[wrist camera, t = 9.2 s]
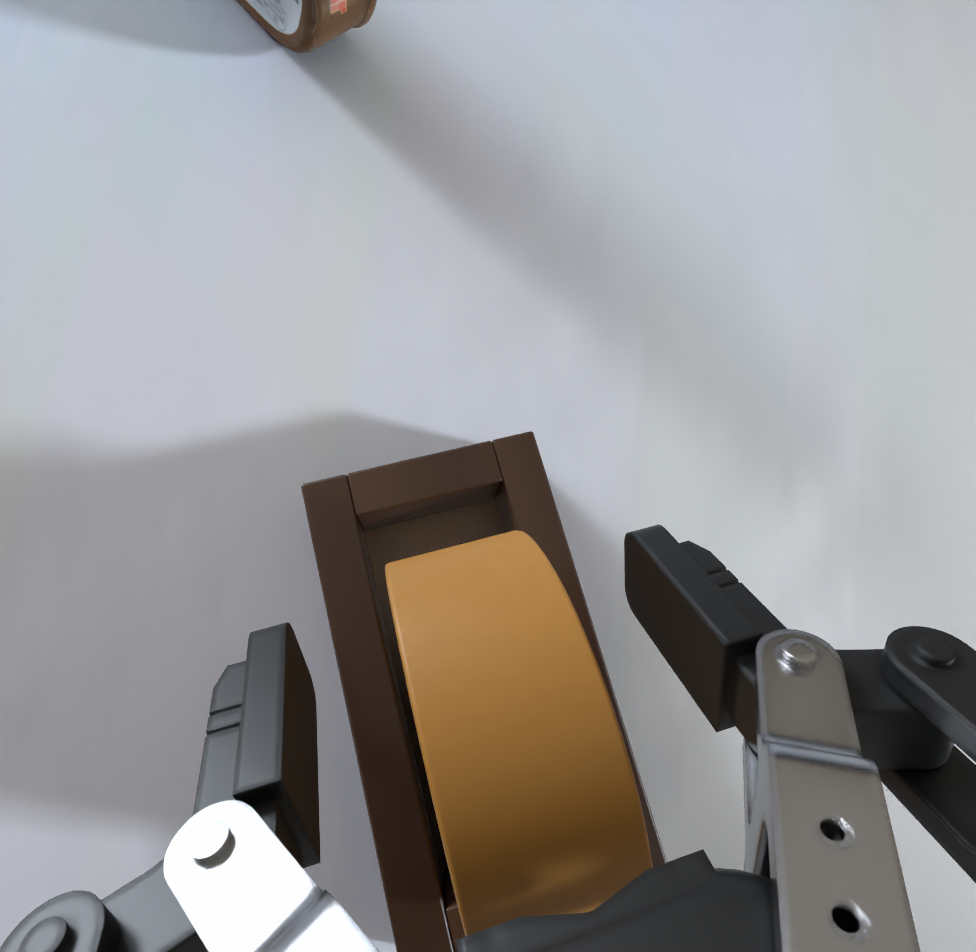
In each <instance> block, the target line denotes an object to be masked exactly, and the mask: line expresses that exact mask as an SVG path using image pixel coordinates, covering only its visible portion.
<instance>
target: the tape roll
mask: <svg viewBox="0 0 976 952" xmlns="http://www.w3.org/2000/svg"><path fill="white" fill-rule="evenodd" d="M385 576H386V583H387V589H388V595H389V600H390V606H391V611H392V616H393V621H394V626H395V631H396V636H397V641H398V646H399V651H400V656H401V661H402V665H403V670H404V675H405V679H406V684H407V689H408V694H409V698H410V703H411V707H412V712H413V716H414V721H415V725H416V730H417V734H418V739H419V743H420V748H421V752H422V757H423V761H424V766H425V770H426V774H427V779H428V783H429V787H430V792H431V796H432V801H433V805H434V809H435V813H436V818H437V822H438V826H439V830H440V835H441V839H442V843H443V847H444V852H445V856H446V860H447V864H448V868H449V872H450V876H451V881H452V885H453V889H454V893H455V897H456V901H457V905H458V909H459V913H460V917H461V921H462V925H463V929H464V933H465V936H468V935H471V934H474V933H476V932H479V931H482V930H485V929H487V928H490V927H493V926H496V925H498V924H501V923H504V922H506V921H509V920H512V919H515V918H517V917H524V916H540V915H557V914H574V913H586V912H590V911H592V910H594V909H596V908H597V907H599V906H600V905H601V904H602V903H604V902H605V901H606V900H608V899H609V898H610V897H612V896H613V895H614V894H615V893H617V892H618V891H619V890H621V889H622V888H623V887H625V886H626V885H627V884H628V883H630V882H631V881H632V880H634V879H635V878H636V877H638V876H639V875H640V874H642V873H643V872H644V871H645V870H648V869H651V868H653V866H652V859H651V853H650V847H649V841H648V835H647V830H646V826H645V821H644V816H643V811H642V806H641V802H640V798H639V794H638V790H637V786H636V782H635V778H634V774H633V771H632V767H631V764H630V760H629V757H628V753H627V750H626V746H625V743H624V739H623V736H622V733H621V730H620V727H619V724H618V721H617V717H616V714H615V711H614V708H613V705H612V702H611V699H610V696H609V694H608V691H607V688H606V685H605V682H604V680H603V677H602V674H601V671H600V669H599V666H598V663H597V661H596V658H595V656H594V653H593V651H592V648H591V646H590V643H589V640H588V638H587V636H586V634H585V631H584V629H583V627H582V624H581V622H580V620H579V617H578V615H577V613H576V611H575V609H574V606H573V604H572V602H571V600H570V598H569V596H568V594H567V592H566V590H565V588H564V586H563V584H562V582H561V581H560V579H559V577H558V575H557V573H556V571H555V570H554V568H553V566H552V565H551V563H550V562H549V560H548V558H547V557H546V555H545V554H544V552H543V551H542V550H541V548H540V547H539V546H538V544H537V543H536V542H535V541H534V540H533V539H532V538H531V537H530V536H529V535H528V534H526V533H525V532H523V531H516V530H514V531H510V532H506V533H502V534H498V535H495V536H491V537H487V538H483V539H479V540H475V541H471V542H467V543H464V544H460V545H456V546H452V547H448V548H444V549H440V550H436V551H433V552H429V553H425V554H421V555H417V556H413V557H409V558H405V559H402V560H398V561H394V562H390V563H388V564H386V566H385Z"/></svg>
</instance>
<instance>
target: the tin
mask: <svg viewBox="0 0 976 952" xmlns="http://www.w3.org/2000/svg"><path fill="white" fill-rule="evenodd" d="M238 2H239V3H240V4H241V5H242V6H243V7H244V8H245V9H246V10H247V11H248V12H249V13H250V14H251V15H252V16H253V17H254V18H255V19H256V20H257V22H258V23H259V24H260V25H261V26H262V27H263V28H264V29H265V30H266V31H267V32H268V33H269V34H270V35H271V36H272V37H273V38H274V39H276V40H277V41H278V42H279V43H281V44H282V45H284V46H285V47H287V48H289V49H290V50H293V51H295V52H309V51H312V50H314V49H316V48H318V47H320V46H322V45H324V44H326V43H328V42H329V41H331V40H333V39H334V38H336V37H338V36H340V35H341V34H343V33H345V32H346V31H348V30H349V29H351V28H359V27H361V26H363V25H365V24H366V23H367V22H368V21H369V19H370V18H371V16H372V14H373V12H374V9H375V5H376V0H238Z"/></svg>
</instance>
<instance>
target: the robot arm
mask: <svg viewBox="0 0 976 952" xmlns="http://www.w3.org/2000/svg"><path fill="white" fill-rule="evenodd" d="M624 550H625V592H626V596H627V600H628V603H629V605H630V608H631V610H632V612H633V613H634V615H635V617H636V618H637V619H638V621H639V622H640V624H641V625H642V627H643V628H644V629H645V631H646V632H647V634H648V635H649V636H650V638H651V639H652V641H653V642H654V644H655V645H656V646H657V648H658V649H659V651H660V652H661V654H662V655H663V656H664V658H665V659H666V661H667V662H668V664H669V665H670V666H671V668H672V669H673V671H674V672H675V674H676V675H677V676H678V678H679V679H680V681H681V682H682V684H683V685H684V686H685V688H686V689H687V691H688V692H689V694H690V695H691V696H692V698H693V699H694V701H695V702H696V704H697V705H698V706H699V708H700V709H701V711H702V712H703V714H704V715H705V716H706V718H707V719H708V721H709V722H710V723H711V725H712V726H713V728H714V729H715V731H716V732H719V731H722V730H725V729H728V728H731V727H734V726H736V727H737V728H738V730H739V731H740V732H741V734H742V735H743V737H744V739H743V748H742V750H743V779H744V808H745V860H744V871H741V870H735V869H723V868H716V869H714V868H713V866H712V864H711V862H710V860H709V859H708V857H707V855H706V853H705V852H704V850H700V851H697V852H694V853H692V854H689V855H686V856H684V857H681V858H678V859H675V860H673V861H670V862H667V863H664V864H662V865H659V866H656V867H654V868H651V869H648V870H645V871H644V872H643V873H642V874H640V875H639V876H638V877H636V878H635V879H634V880H632V881H631V882H630V883H628V884H627V885H626V886H625V887H623V888H622V889H621V890H619V891H618V892H617V893H615V894H614V895H613V896H612V897H610V898H609V899H608V900H606V901H605V902H604V903H602V904H601V905H600V906H599V907H597V908H596V909H594V910H592V911H590V912H586V913H574V914H557V915H540V916H524V917H517V918H515V919H512V920H509V921H506V922H504V923H501V924H498V925H496V926H493V927H490V928H487V929H485V930H482V931H479V932H476V933H474V934H471V935H468V936H466V937H463V938H460V939H457V940H455V943H456V948H457V952H920V948H919V943H918V939H917V935H916V930H915V926H914V922H913V917H912V913H911V909H910V904H909V900H908V896H907V891H906V887H905V883H904V878H903V874H902V870H901V865H900V861H899V857H898V852H897V848H896V844H895V839H894V835H893V831H892V826H891V822H890V818H889V813H888V809H887V805H886V800H885V796H884V792H883V787H882V783H881V781H882V782H883V784H884V785H885V786H886V787H887V788H888V789H889V790H890V791H891V792H892V793H893V794H894V795H895V796H896V798H897V799H898V800H899V801H900V802H901V803H902V804H903V805H904V806H905V807H906V808H907V809H908V810H909V812H910V813H911V814H912V815H913V816H914V817H915V818H916V819H917V820H918V821H919V822H920V823H921V824H922V826H923V827H924V828H925V829H926V830H927V831H928V832H929V833H930V834H931V835H932V836H933V837H934V839H935V840H936V841H937V842H938V843H939V844H940V845H941V846H942V847H943V848H944V849H945V850H946V851H947V853H948V854H949V855H950V856H951V857H952V858H953V859H954V860H955V861H956V862H957V863H958V864H959V865H960V867H961V868H962V869H963V870H964V871H965V872H966V873H967V874H968V875H969V876H970V877H971V878H972V879H973V881H974V882H975V883H976V765H975V764H974V763H973V762H972V761H971V760H969V759H968V758H967V757H966V756H965V755H964V754H963V753H962V752H961V751H960V750H958V749H957V748H956V747H955V746H954V743H955V744H956V745H957V746H958V747H959V748H960V749H961V750H963V751H964V752H965V753H966V754H967V755H968V756H969V757H970V758H971V759H973V760H974V761H975V762H976V651H975V650H974V649H972V648H971V647H970V646H968V645H967V644H966V643H964V642H963V641H961V640H960V639H958V638H956V637H954V636H952V635H950V634H948V633H945V632H943V631H939V630H936V629H932V628H928V627H920V626H910V627H903V628H899V629H897V630H895V631H893V632H892V633H891V634H890V635H889V636H888V638H887V641H886V644H885V648H884V649H873V650H835V649H834V648H833V647H832V646H831V645H830V644H828V643H827V642H826V641H824V640H823V639H821V638H819V637H817V636H815V635H813V634H810V633H807V632H804V631H799V630H792V629H787V628H786V627H785V626H784V625H783V624H782V623H781V622H780V621H779V620H778V619H777V618H776V617H775V616H774V615H773V614H772V613H771V612H770V611H769V610H768V609H767V608H766V607H765V606H764V605H763V604H762V603H761V602H760V601H759V600H758V599H757V598H756V597H755V596H754V595H753V594H752V593H751V592H750V591H749V590H748V589H747V588H746V587H745V586H744V585H743V584H742V583H739V582H738V579H737V578H736V577H735V576H734V575H733V574H732V573H731V572H730V571H729V570H726V567H725V566H724V565H723V564H722V563H721V562H720V561H719V560H718V559H717V558H716V557H715V556H714V555H713V554H712V553H711V552H710V551H708V550H706V549H704V548H702V547H700V546H698V545H696V544H694V543H692V542H690V541H686V542H682V543H678V542H677V541H676V540H675V539H674V538H673V536H672V535H671V534H670V533H669V532H668V531H667V530H666V529H665V528H664V527H663V526H661V525H655V526H652V527H648V528H644V529H640V530H637V531H633V532H629V533H627V534H626V536H625V541H624ZM209 713H210V717H209V719H208V725H207V731H206V732H207V737H205V744H204V750H203V756H202V762H201V768H200V775H199V781H198V787H197V793H196V800H195V806H194V811H193V815H192V817H191V818H190V819H189V820H188V821H187V822H186V823H185V824H184V825H183V826H182V827H181V828H180V829H179V831H178V832H177V834H176V835H175V836H174V838H173V840H172V841H171V843H170V845H169V847H168V850H167V852H166V855H165V858H164V859H163V860H161V861H160V862H159V863H158V864H157V865H155V866H154V867H153V868H151V869H150V870H148V871H147V872H146V873H144V874H142V875H141V876H139V877H138V878H136V879H134V880H133V881H131V882H129V883H128V884H126V885H125V886H123V887H121V888H120V889H118V890H117V891H115V892H113V893H112V894H110V895H109V896H107V897H105V898H104V899H102V900H100V899H99V898H98V897H97V896H96V895H95V894H93V893H91V892H88V891H71V892H67V893H64V894H61V895H59V896H56V897H54V898H52V899H50V900H48V901H47V902H45V903H44V904H42V905H41V906H39V907H38V908H36V909H35V910H34V911H32V912H31V913H30V914H29V915H28V916H27V917H26V918H24V919H23V920H22V921H21V922H20V923H19V924H18V925H17V927H16V928H15V929H14V930H13V931H12V932H11V933H10V935H9V936H8V938H7V939H6V940H5V942H4V943H3V945H2V946H1V948H0V952H379V951H378V949H377V948H376V947H375V946H374V945H373V943H372V942H371V941H370V940H369V939H368V937H367V936H366V935H365V934H364V933H363V931H362V930H361V929H360V928H359V927H358V926H357V924H356V923H355V922H354V921H353V920H352V918H351V917H350V916H349V915H348V914H347V912H346V911H345V910H344V909H343V908H342V906H341V905H340V904H339V903H338V902H337V901H336V899H335V898H334V897H333V896H332V895H331V894H330V893H329V892H327V891H326V890H324V891H321V890H320V889H319V888H318V887H317V885H316V884H315V883H314V882H313V881H312V879H311V878H310V877H309V876H308V875H307V873H306V872H305V871H304V870H303V868H305V867H308V866H311V865H314V864H317V863H320V833H319V795H318V757H317V718H316V699H315V692H314V687H313V683H312V679H311V676H310V673H309V670H308V668H307V665H306V662H305V660H304V657H303V654H302V652H301V649H300V647H299V644H298V641H297V639H296V636H295V633H294V631H293V628H292V626H291V625H290V623H284V624H280V625H277V626H273V627H269V628H265V629H262V630H258V631H254V632H251V633H250V635H249V641H248V650H247V660H246V661H243V662H240V663H236V664H232V665H229V666H227V668H226V669H225V671H224V672H223V674H222V676H221V677H220V679H219V681H218V682H217V684H216V686H215V687H214V689H213V694H212V700H211V706H210V712H209Z"/></svg>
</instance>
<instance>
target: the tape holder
mask: <svg viewBox="0 0 976 952" xmlns="http://www.w3.org/2000/svg"><path fill="white" fill-rule="evenodd" d="M301 489H302V493H303V498H304V503H305V508H306V513H307V518H308V523H309V527H310V532H311V537H312V542H313V547H314V552H315V557H316V561H317V566H318V571H319V576H320V581H321V586H322V591H323V595H324V600H325V605H326V610H327V615H328V620H329V625H330V629H331V634H332V639H333V644H334V649H335V654H336V659H337V663H338V668H339V673H340V678H341V683H342V688H343V693H344V697H345V702H346V707H347V712H348V717H349V722H350V727H351V731H352V736H353V741H354V746H355V751H356V756H357V761H358V765H359V770H360V775H361V780H362V785H363V790H364V795H365V799H366V804H367V809H368V814H369V819H370V824H371V829H372V833H373V838H374V843H375V848H376V853H377V858H378V863H379V867H380V872H381V877H382V882H383V887H384V892H385V897H386V901H387V906H388V911H389V916H390V921H391V926H392V931H393V935H394V940H395V945H396V950H397V952H457V948H456V943H455V940H457V939H460V938H463V937H466V936H465V933H464V929H463V925H462V921H461V917H460V913H459V909H458V905H457V901H456V897H455V893H454V889H453V885H452V881H451V876H450V877H447V878H445V879H444V880H442V875H441V871H440V867H439V862H438V858H437V853H436V849H435V845H434V840H433V836H432V831H431V827H430V823H429V818H428V814H427V809H426V805H425V801H424V796H423V792H422V788H421V783H420V779H419V774H418V770H417V766H416V761H415V757H414V752H413V748H412V744H411V739H410V735H409V730H408V726H407V722H406V717H405V713H404V708H403V704H402V700H401V695H400V691H399V687H398V682H397V678H396V673H395V669H394V665H393V660H392V656H391V651H390V647H389V643H388V638H387V634H386V629H385V625H384V621H383V616H382V612H381V608H380V603H379V599H378V594H377V590H376V586H375V581H374V577H373V572H372V568H371V564H370V559H369V555H368V550H367V546H366V542H365V537H364V533H363V530H368V529H372V528H376V527H380V526H384V525H388V524H392V523H397V522H401V521H405V520H409V519H413V518H417V517H421V516H425V515H429V514H433V513H437V512H441V511H445V510H449V509H453V508H457V507H461V506H465V505H469V504H473V503H477V502H481V501H485V500H489V499H493V498H495V497H496V501H497V504H498V508H499V511H500V515H501V518H502V522H503V525H504V529H505V532H510V531H514V530H516V531H523V532H525V533H526V534H528V535H529V536H530V537H531V538H532V539H533V540H534V541H535V542H536V543H537V544H538V546H539V547H540V548H541V550H542V551H543V552H544V554H545V555H546V557H547V558H548V560H549V562H550V563H551V565H552V566H553V568H554V570H555V571H556V573H557V575H558V577H559V579H560V581H561V582H562V584H563V586H564V588H565V590H566V592H567V594H568V596H569V598H570V600H571V602H572V604H573V606H574V609H575V611H576V613H577V615H578V617H579V620H580V622H581V624H582V627H583V629H584V631H585V634H586V636H587V638H588V640H589V643H590V646H591V648H592V651H593V653H594V656H595V658H596V661H597V663H598V666H599V669H600V671H601V674H602V677H603V680H604V682H605V685H606V688H607V691H608V694H609V696H610V699H611V702H612V705H613V708H614V711H615V714H616V717H617V721H618V724H619V727H620V730H621V733H622V736H623V739H624V743H625V746H626V750H627V753H628V757H629V760H630V764H631V767H632V771H633V774H634V778H635V782H636V786H637V790H638V794H639V798H640V802H641V806H642V811H643V816H644V821H645V826H646V830H647V835H648V841H649V847H650V853H651V859H652V866H653V868H654V867H656V866H659V865H662V864H664V863H667V861H666V858H665V855H664V852H663V848H662V845H661V842H660V839H659V836H658V832H657V829H656V826H655V823H654V819H653V816H652V813H651V810H650V807H649V803H648V800H647V797H646V794H645V791H644V787H643V784H642V781H641V778H640V774H639V771H638V768H637V765H636V762H635V758H634V755H633V752H632V749H631V745H630V742H629V739H628V736H627V733H626V729H625V726H624V723H623V720H622V717H621V713H620V710H619V707H618V704H617V700H616V697H615V694H614V691H613V688H612V684H611V681H610V678H609V675H608V672H607V668H606V665H605V662H604V659H603V655H602V652H601V649H600V646H599V643H598V639H597V636H596V633H595V630H594V627H593V623H592V620H591V617H590V614H589V610H588V607H587V604H586V601H585V598H584V594H583V591H582V588H581V585H580V581H579V578H578V575H577V572H576V569H575V565H574V562H573V559H572V556H571V553H570V549H569V546H568V543H567V540H566V536H565V533H564V530H563V527H562V524H561V520H560V517H559V514H558V511H557V508H556V504H555V501H554V498H553V495H552V491H551V488H550V485H549V482H548V479H547V475H546V472H545V469H544V466H543V463H542V459H541V456H540V453H539V450H538V446H537V443H536V440H535V437H534V434H533V432H526V433H522V434H517V435H513V436H509V437H504V438H500V439H496V440H493V441H492V442H491V441H487V442H483V443H478V444H474V445H470V446H465V447H461V448H457V449H452V450H448V451H444V452H439V453H435V454H431V455H426V456H422V457H418V458H413V459H409V460H405V461H400V462H396V463H392V464H388V465H383V466H379V467H375V468H370V469H366V470H362V471H357V472H353V473H349V474H348V475H347V476H346V475H340V476H336V477H332V478H327V479H323V480H319V481H314V482H310V483H306V484H303V485H302V487H301Z"/></svg>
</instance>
